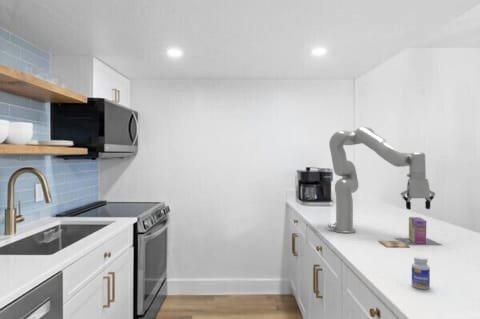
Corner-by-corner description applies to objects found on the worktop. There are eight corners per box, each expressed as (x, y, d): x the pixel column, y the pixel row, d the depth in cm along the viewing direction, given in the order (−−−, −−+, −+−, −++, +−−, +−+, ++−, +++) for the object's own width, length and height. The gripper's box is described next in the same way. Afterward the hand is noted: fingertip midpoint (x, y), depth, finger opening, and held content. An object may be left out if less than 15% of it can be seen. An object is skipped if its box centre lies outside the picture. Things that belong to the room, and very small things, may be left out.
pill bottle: (412, 288, 114) (412, 259, 114) (410, 282, 119) (410, 254, 119) (431, 290, 112) (431, 260, 112) (428, 284, 117) (428, 256, 117)
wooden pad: (386, 247, 166) (386, 246, 166) (378, 242, 177) (378, 240, 177) (409, 247, 166) (409, 246, 166) (400, 242, 177) (400, 241, 177)
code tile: (405, 244, 171) (405, 244, 171) (394, 238, 185) (394, 238, 185) (442, 245, 171) (442, 244, 171) (428, 238, 185) (428, 238, 185)
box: (426, 243, 172) (426, 220, 172) (414, 243, 173) (414, 220, 173) (420, 239, 182) (420, 217, 182) (408, 238, 184) (408, 216, 184)
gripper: (403, 176, 174) (404, 210, 174) (438, 176, 174) (439, 209, 174) (397, 176, 182) (398, 208, 182) (430, 175, 181) (431, 208, 181)
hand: (418, 209), depth 178 cm, fingers open, 9 cm apart
